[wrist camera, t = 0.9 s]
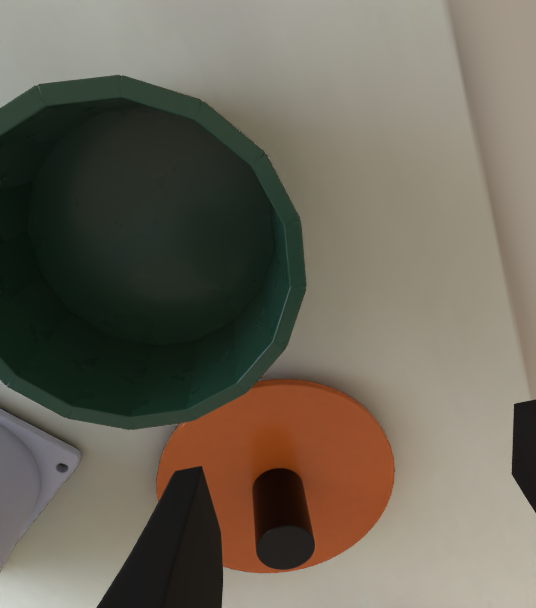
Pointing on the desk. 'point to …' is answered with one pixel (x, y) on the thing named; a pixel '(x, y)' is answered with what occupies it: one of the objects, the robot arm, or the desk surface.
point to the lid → (286, 473)
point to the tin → (139, 254)
